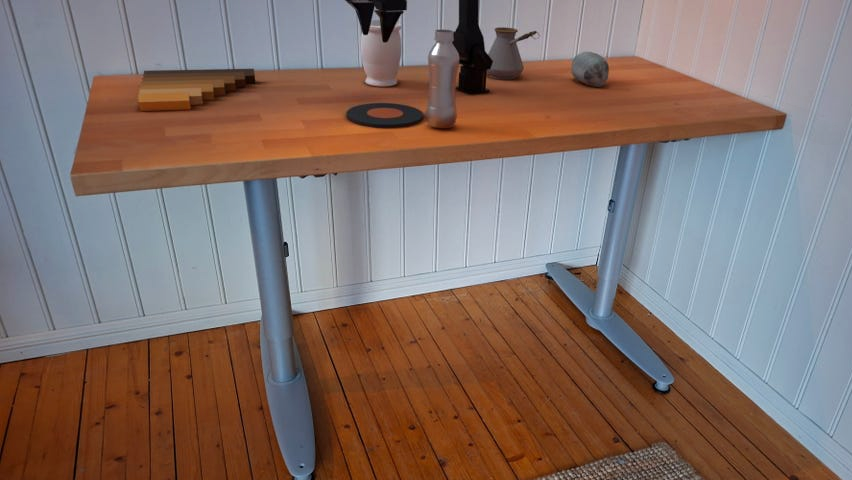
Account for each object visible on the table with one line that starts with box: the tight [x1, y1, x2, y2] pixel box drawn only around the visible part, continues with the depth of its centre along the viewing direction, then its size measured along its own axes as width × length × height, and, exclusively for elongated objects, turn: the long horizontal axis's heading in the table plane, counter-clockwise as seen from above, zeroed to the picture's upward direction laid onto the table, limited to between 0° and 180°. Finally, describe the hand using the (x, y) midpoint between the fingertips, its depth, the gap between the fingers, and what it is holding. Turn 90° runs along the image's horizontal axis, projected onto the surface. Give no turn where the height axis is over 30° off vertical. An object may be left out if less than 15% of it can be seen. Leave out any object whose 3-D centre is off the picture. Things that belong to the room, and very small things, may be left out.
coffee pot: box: [487, 26, 541, 80], centre depth 186 cm, size 21×12×15 cm, turn 28°
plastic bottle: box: [425, 28, 460, 129], centre depth 143 cm, size 6×7×20 cm
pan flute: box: [137, 68, 256, 112], centre depth 158 cm, size 25×3×25 cm
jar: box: [359, 19, 402, 87], centre depth 175 cm, size 11×10×15 cm
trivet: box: [346, 102, 424, 129], centre depth 152 cm, size 17×17×1 cm
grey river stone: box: [570, 51, 610, 88], centre depth 191 cm, size 14×10×10 cm
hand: (375, 38), depth 155 cm, fingers open, 9 cm apart
